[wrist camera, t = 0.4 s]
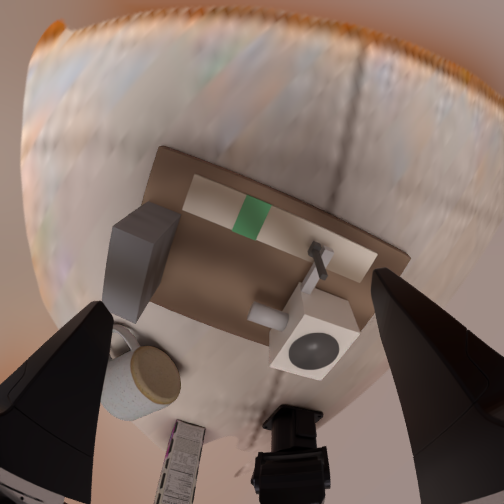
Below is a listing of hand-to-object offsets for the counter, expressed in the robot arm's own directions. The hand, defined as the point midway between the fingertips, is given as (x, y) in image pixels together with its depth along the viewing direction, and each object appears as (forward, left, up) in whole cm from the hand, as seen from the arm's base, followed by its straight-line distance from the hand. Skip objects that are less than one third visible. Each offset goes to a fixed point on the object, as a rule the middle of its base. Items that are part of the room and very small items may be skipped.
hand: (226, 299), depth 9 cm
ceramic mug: (-23, +5, -15) cm, 28 cm away
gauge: (-6, -7, -14) cm, 17 cm away
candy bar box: (-40, -5, -15) cm, 43 cm away
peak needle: (-2, -6, -13) cm, 14 cm away
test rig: (-6, -3, -15) cm, 16 cm away
